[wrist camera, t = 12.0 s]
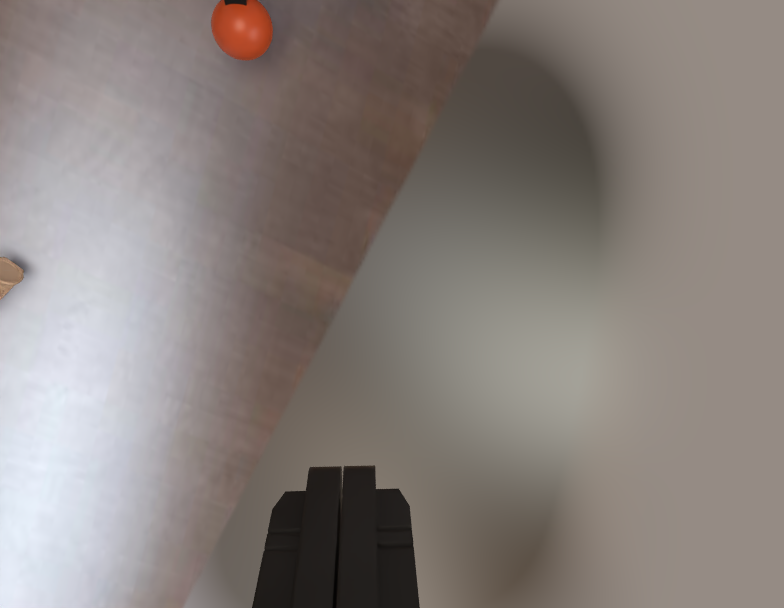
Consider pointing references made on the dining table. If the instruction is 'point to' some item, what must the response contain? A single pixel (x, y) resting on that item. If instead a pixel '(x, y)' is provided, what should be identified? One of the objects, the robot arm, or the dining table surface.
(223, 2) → the lever
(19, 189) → the dining table surface
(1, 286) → the tan wooden cylinder
